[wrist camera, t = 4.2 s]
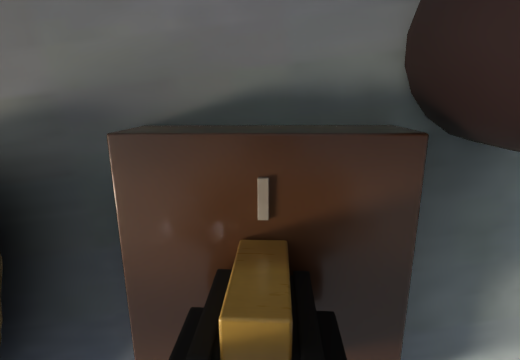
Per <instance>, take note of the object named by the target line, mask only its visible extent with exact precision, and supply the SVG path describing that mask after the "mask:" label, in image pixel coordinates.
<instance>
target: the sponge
mask: <svg viewBox="0 0 520 360" xmlns="http://www.w3.org/2000/svg"><path fill="white" fill-rule="evenodd" d="M2 269H3V263H2V256H1V253H0V345H1V326H2V321H3V320H2V307H1V285H2Z"/></svg>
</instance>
